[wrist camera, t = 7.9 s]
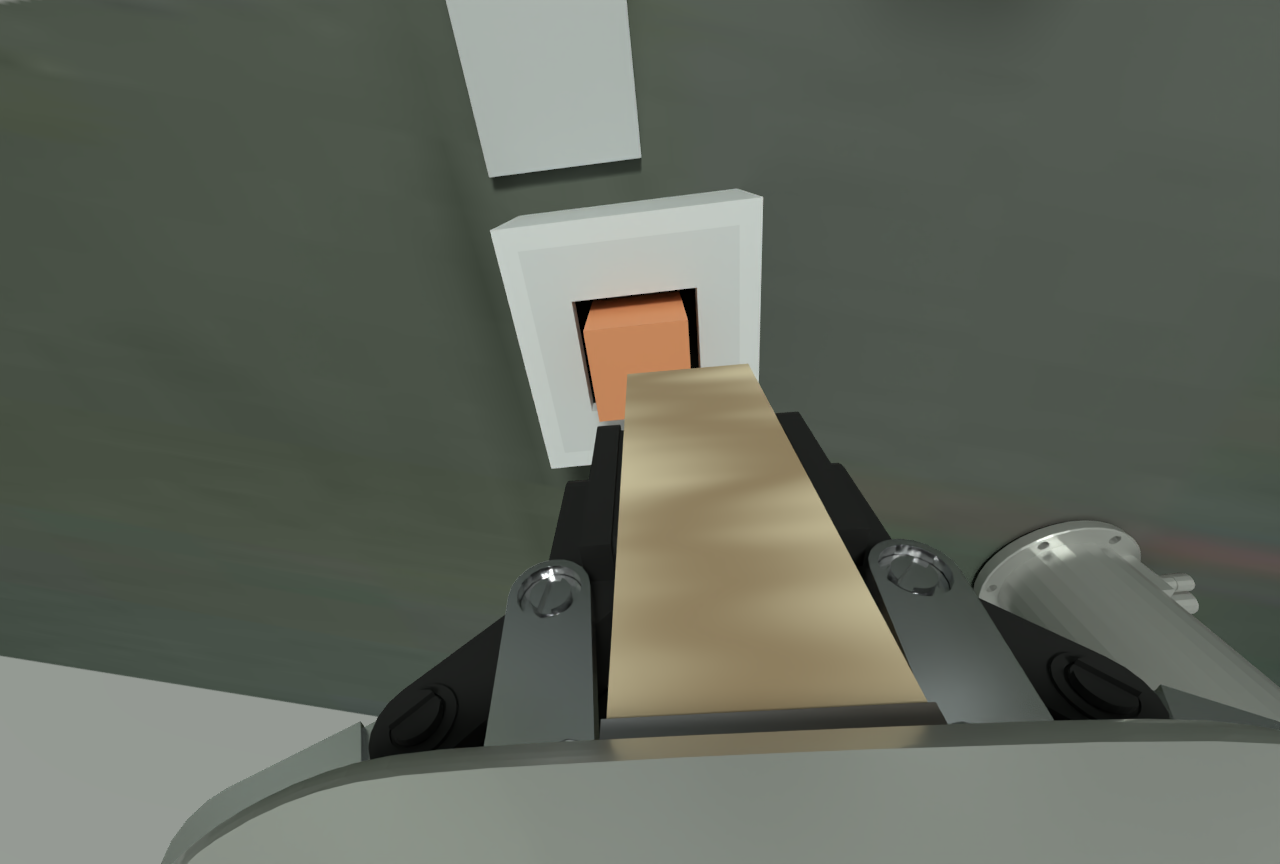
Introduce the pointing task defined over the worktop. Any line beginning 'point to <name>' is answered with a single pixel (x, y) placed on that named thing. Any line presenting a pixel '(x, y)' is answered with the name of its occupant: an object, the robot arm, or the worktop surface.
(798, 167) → the worktop surface
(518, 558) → the worktop surface
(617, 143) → the pad
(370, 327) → the worktop surface
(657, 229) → the box
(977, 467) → the worktop surface
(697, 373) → the tan wooden block
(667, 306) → the orange cube block
